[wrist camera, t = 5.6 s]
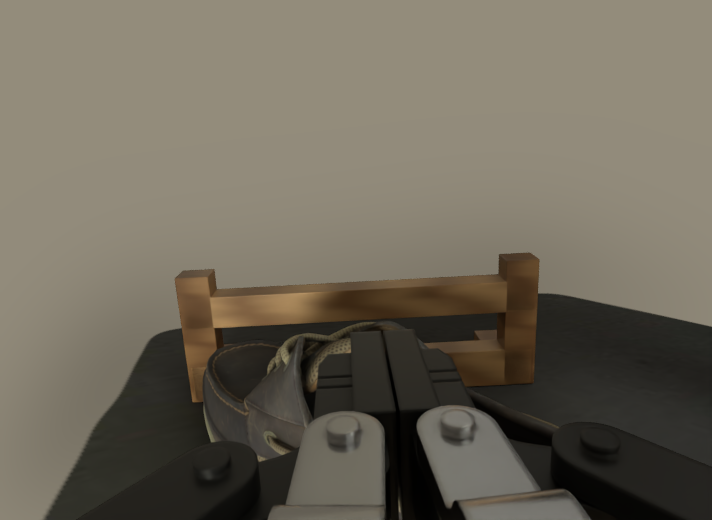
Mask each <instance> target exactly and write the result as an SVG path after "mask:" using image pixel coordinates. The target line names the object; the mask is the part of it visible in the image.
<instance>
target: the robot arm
mask: <svg viewBox="0 0 712 520" xmlns="http://www.w3.org/2000/svg"><path fill="white" fill-rule="evenodd" d="M350 340H351V353H340V354H328V355H327V356H326V357H325V358H324V360H323V361H322V362H321V363H320V364H319V365H318V376H317V378H318V379H317V389H316V398H315V408H314V419H313V421H312V422H311V423H310V424H309V425H308V426H307V427H306V429H305V430H304V433H303V436H302V440H301V444H300V446H299V447H298V448H296V449H295V450H293V451H291V452H289V453H286V454H284V455H281V456H278V457H275V458H271V459H268V460H264V461H260V462H258V458H257V454H256V453H255V451H254V450H253V449H252V448H251V447H249V446H248V445H246V444H243V443H240V442H235V441H218V442H212V443H207V444H204V445H201V446H198V447H196V448H193V449H191V450H189V451H187V452H186V453H184V454H182V455H181V456H179V457H177V458H176V459H174V460H173V461H171V462H169V463H168V464H166V465H164V466H163V467H161V468H160V469H158V470H156V471H155V472H153V473H151V474H150V475H148V476H147V477H145V478H143V479H142V480H140V481H138V482H137V483H135V484H133V485H132V486H130V487H129V488H127V489H125V490H124V491H122V492H120V493H119V494H117V495H116V496H114V497H112V498H111V499H109V500H107V501H106V502H104V503H103V504H101V505H99V506H98V507H96V508H94V509H93V510H91V511H89V512H88V513H86V514H85V515H83V516H81V517H80V518H78V519H76V520H399V503H400V510H401V516H402V520H712V467H711V466H708V465H706V464H703V463H701V462H698V461H696V460H694V459H691V458H689V457H686V456H684V455H681V454H679V453H676V452H674V451H671V450H669V449H667V448H664V447H662V446H659V445H657V444H654V443H652V442H649V441H647V440H645V439H642V438H640V437H637V436H635V435H632V434H630V433H627V432H625V431H623V430H620V429H617V428H615V427H612V426H608V425H604V424H599V423H592V422H575V423H570V424H566V425H563V426H561V427H560V428H558V429H557V430H556V431H555V432H554V434H553V437H552V446H545V445H538V444H531V443H525V442H519V441H515V440H512V439H509V438H507V437H506V436H505V434H504V433H503V431H502V430H501V428H500V427H499V425H498V424H497V422H496V421H495V420H494V419H493V418H492V417H491V416H490V415H488V414H486V413H485V412H483V411H480V410H478V409H476V408H475V406H474V404H473V402H472V400H471V398H470V395H469V393H468V391H467V389H466V387H465V385H464V383H463V381H462V378H461V376H460V374H459V372H458V371H457V368H456V366H455V364H454V362H453V359H452V357H450V356H449V355H447V354H446V353H444V352H443V351H441V350H440V349H438V348H431V349H421V348H420V345H419V342H418V339H417V336H416V334H415V331H414V329H405V330H387V331H383V340H382V335H381V331H369V332H350ZM398 497H399V503H398Z"/></svg>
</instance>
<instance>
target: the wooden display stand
mask: <svg viewBox="0 0 712 520" xmlns="http://www.w3.org/2000/svg"><path fill="white" fill-rule="evenodd" d="M538 278H539V259H538V258H537V257H535V256H534V255H532V254H531V253H513V254H499V274H496V275H477V276H458V277H439V278H420V279H402V280H383V281H365V282H345V283H327V284H307V285H288V286H270V287H252V288H234V289H233V288H232V289H217V287H216V279H215V271H214V269H208V270H189V271H182V272H181V273H180V274H179V275H178V276H177V277H176V278H175V285H176V291H177V299H178V305H179V311H180V319H181V325H182V333H183V340H184V347H185V353H186V360H187V367H188V374H189V381H190V388H191V395H192V402H203V390H202V383H203V375H204V371H205V369H206V365H207V362H208V359H209V358H210V356H211V355H212V354H213V353H214V352H215V351H216V350H217V349H220V348H222V347H225V346H228V345H232V344H223V336H222V328H225V327H244V326H262V325H281V324H299V323H318V322H336V321H355V320H373V319H392V318H410V317H428V316H447V315H465V314H484V313H497V330H482V331H474V341H457V342H439V343H424V344H425V345H426V346H427V347H428V348H429V349H431V348H438V349H440V350H441V351H443V352H444V353H446V354H447V355H449V356H450V357H452V359H453V362H454V364H455V366H456V368H457V371H458V372H459V374H460V376H461V378H462V381H463V383H464V385H465V387H472V386H490V385H510V384H527V383H534V363H535V342H536V321H537V300H538Z"/></svg>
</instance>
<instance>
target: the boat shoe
mask: <svg viewBox="0 0 712 520" xmlns="http://www.w3.org/2000/svg"><path fill="white" fill-rule="evenodd" d="M405 329H406V328H404V327H403V326H401V325H400V324H398V323H396V322H392V321H379V322H376V323H375V322H363V323H358V324H355V325H352V326H349V327H346V328H344V329H342V330H340V331H338V332H336V333H333V334H331V335H330V336H325V335H319V334H312V333H306V334H300V335H295V336H293V337H291V338H289V339H288V340H286V341H285V343H284V344H281V343H278V342H274V341H269V340H261V339H255V340H248V341H243V342H239V343H235V344H232V345H228V346H225V347H222V348H220V349H217V350H216V351H215V352H214V353H213V354H212V355H211V356H210V358H209V359H208V362H207V365H206V369H205V371H204V375H203V383H202V390H203V403H204V407H203V408H204V417H205V422H206V426H207V430H208V434H209V437H210V440H211V443H212V442H218V441H235V442H240V443H243V444H246V445H248V446H249V447H251V448H252V449H253V450H254V451H255V453H256V454H257V458H258V462H260V461H264V460H268V459H271V458H275V457H278V456H281V455H284V454H286V453H289V452H291V451H293V450H295V449H296V448H298V447H299V446H300V444H301V440H302V436H303V433H304V430H305V429H306V427H307V426H308V425H309V424H310V423H311V422H312V421H313V419H314V408H315V398H316V389H317V379H318V378H317V376H318V365H319V364H320V363H321V362H322V361H323V360H324V358H325V357H326V356H327V355H328V354H340V353H351V340H350V332H369V331H381V335H382V340H383V331H387V330H405ZM417 339H418V338H417ZM418 342H419V345H420V348H421V349H429V348H428V347H427V346H426V345H425V344H424V343H423V342H422V341H421V340H419V339H418ZM466 389H467V391H468V393H469V395H470V398H471V400H472V402H473V404H474V406H475V408H476V409H478V410H480V411H483V412H485V413H486V414H488V415H490V416H491V417H492V418H493V419H494V420H495V421H496V422H497V424H498V425H499V427H500V428H501V430H502V431H503V433H504V434H505V436H506V437H507V438H509V439H512V440H515V441H519V442H525V443H531V444H538V445H545V446H552V437H553V434H554V432H555V431H556V430H557V429H558V428H559V427H557V426H555V425H553V424H551V423H549V422H546V421H543V420H541V419H538V418H535V417H533V416H530V415H528V414H523V413H521V412H518V411H516V410H514V409H512V408H509V407H507V406H505V405H503V404H500V403H498V402H496V401H494V400H492V399H490V398H488V397H485V396H483V395H481V394H478V393H476V392H474V391H472V390H470V389H468V388H467V387H466ZM398 503H399V497H398ZM399 520H402V516H401V510H400V503H399Z"/></svg>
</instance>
